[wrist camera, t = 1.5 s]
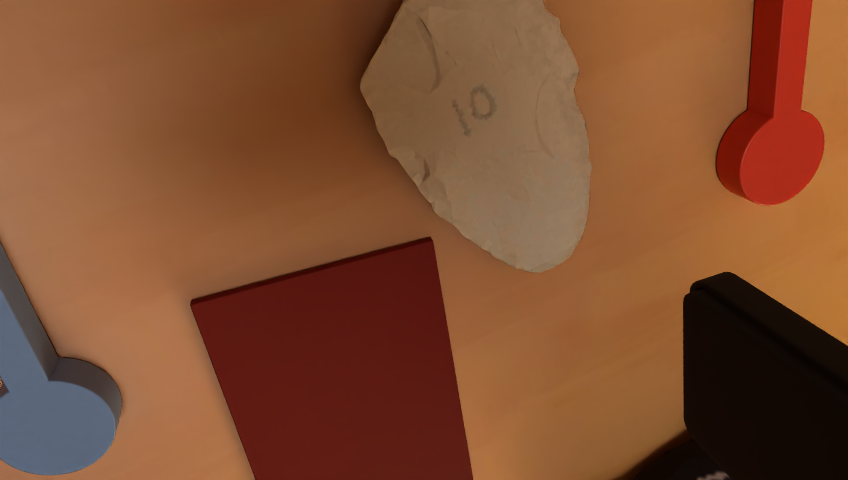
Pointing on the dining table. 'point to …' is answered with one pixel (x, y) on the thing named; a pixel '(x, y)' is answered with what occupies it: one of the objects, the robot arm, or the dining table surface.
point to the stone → (487, 123)
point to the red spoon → (774, 112)
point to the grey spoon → (48, 394)
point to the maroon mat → (342, 370)
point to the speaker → (684, 466)
